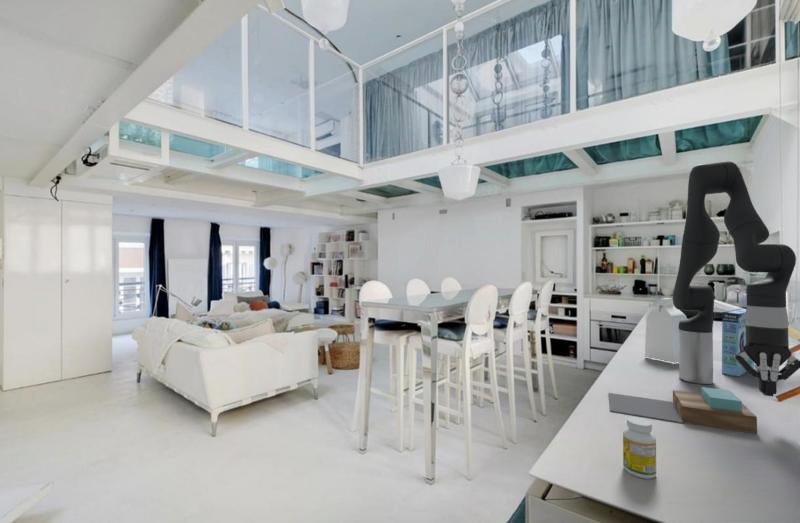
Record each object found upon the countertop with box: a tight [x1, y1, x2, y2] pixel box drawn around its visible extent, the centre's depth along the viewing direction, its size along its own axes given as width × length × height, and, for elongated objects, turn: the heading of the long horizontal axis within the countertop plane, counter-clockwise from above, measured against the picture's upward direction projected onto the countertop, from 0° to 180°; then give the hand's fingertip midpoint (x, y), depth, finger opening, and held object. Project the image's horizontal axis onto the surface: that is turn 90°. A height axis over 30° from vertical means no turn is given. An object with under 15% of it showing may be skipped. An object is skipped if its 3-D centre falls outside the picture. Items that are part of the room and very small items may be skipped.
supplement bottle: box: [622, 416, 657, 480], centre depth 71 cm, size 5×5×10 cm
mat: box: [608, 392, 685, 424], centre depth 103 cm, size 16×16×1 cm
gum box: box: [721, 308, 755, 377], centre depth 139 cm, size 20×5×23 cm, turn 123°
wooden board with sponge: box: [672, 389, 758, 435], centre depth 96 cm, size 14×14×4 cm
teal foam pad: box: [700, 386, 743, 412], centre depth 95 cm, size 9×6×2 cm, turn 152°
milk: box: [644, 297, 688, 363], centre depth 156 cm, size 12×12×26 cm
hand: (767, 395), depth 91 cm, fingers closed
